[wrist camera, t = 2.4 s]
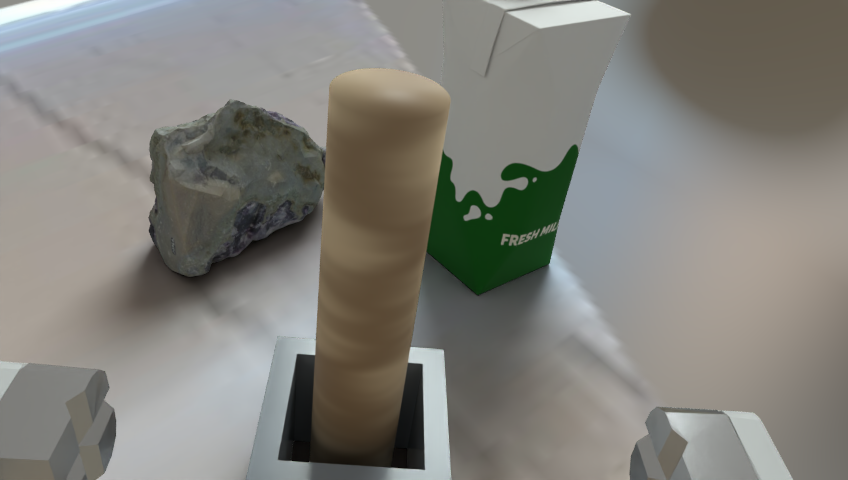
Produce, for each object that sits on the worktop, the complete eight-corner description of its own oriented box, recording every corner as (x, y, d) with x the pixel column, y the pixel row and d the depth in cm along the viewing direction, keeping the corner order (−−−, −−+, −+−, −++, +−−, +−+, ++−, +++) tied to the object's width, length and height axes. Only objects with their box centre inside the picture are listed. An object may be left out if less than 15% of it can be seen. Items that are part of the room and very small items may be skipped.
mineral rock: (333, 189, 53) (341, 65, 48) (360, 276, 45) (374, 139, 39) (155, 195, 50) (139, 61, 44) (149, 291, 41) (129, 142, 36)
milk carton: (483, 205, 54) (541, -66, 43) (569, 268, 49) (661, -23, 37) (393, 236, 49) (431, -61, 38) (477, 310, 44) (552, -10, 32)
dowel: (303, 528, 30) (323, 112, 19) (312, 459, 33) (334, 62, 22) (384, 532, 31) (453, 126, 19) (386, 464, 34) (447, 75, 22)
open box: (248, 569, 29) (245, 481, 25) (276, 422, 35) (277, 336, 31) (430, 579, 29) (451, 494, 26) (426, 433, 35) (443, 349, 32)
